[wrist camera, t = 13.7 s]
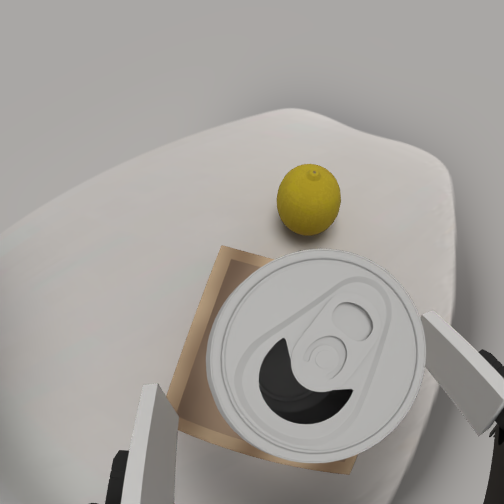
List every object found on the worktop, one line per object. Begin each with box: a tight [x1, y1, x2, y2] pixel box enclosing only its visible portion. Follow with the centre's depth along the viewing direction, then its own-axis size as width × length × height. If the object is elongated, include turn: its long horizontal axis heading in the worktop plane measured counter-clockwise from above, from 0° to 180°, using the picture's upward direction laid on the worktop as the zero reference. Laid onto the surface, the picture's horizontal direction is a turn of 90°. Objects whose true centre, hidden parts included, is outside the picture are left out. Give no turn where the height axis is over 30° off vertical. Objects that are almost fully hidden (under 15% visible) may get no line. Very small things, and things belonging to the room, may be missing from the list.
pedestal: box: [166, 246, 358, 475], centre depth 20 cm, size 16×16×6 cm
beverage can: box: [206, 249, 426, 463], centre depth 12 cm, size 6×6×12 cm
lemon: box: [277, 164, 341, 235], centre depth 24 cm, size 6×6×8 cm
